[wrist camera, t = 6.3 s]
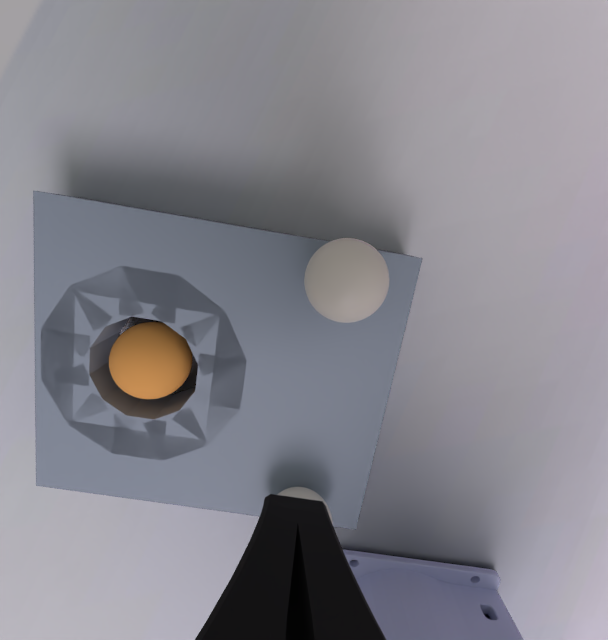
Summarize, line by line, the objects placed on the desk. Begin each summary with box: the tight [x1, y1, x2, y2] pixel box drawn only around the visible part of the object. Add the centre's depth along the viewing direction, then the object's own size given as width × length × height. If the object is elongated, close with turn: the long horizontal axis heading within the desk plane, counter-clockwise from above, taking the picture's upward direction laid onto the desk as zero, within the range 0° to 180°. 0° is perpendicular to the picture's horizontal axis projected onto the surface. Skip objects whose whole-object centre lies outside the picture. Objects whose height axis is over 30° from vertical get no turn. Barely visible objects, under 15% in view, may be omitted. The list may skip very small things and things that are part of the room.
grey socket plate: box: [33, 191, 422, 530], centre depth 17 cm, size 15×13×2 cm
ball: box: [109, 322, 192, 399], centre depth 16 cm, size 3×3×3 cm
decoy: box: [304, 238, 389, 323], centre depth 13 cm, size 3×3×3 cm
